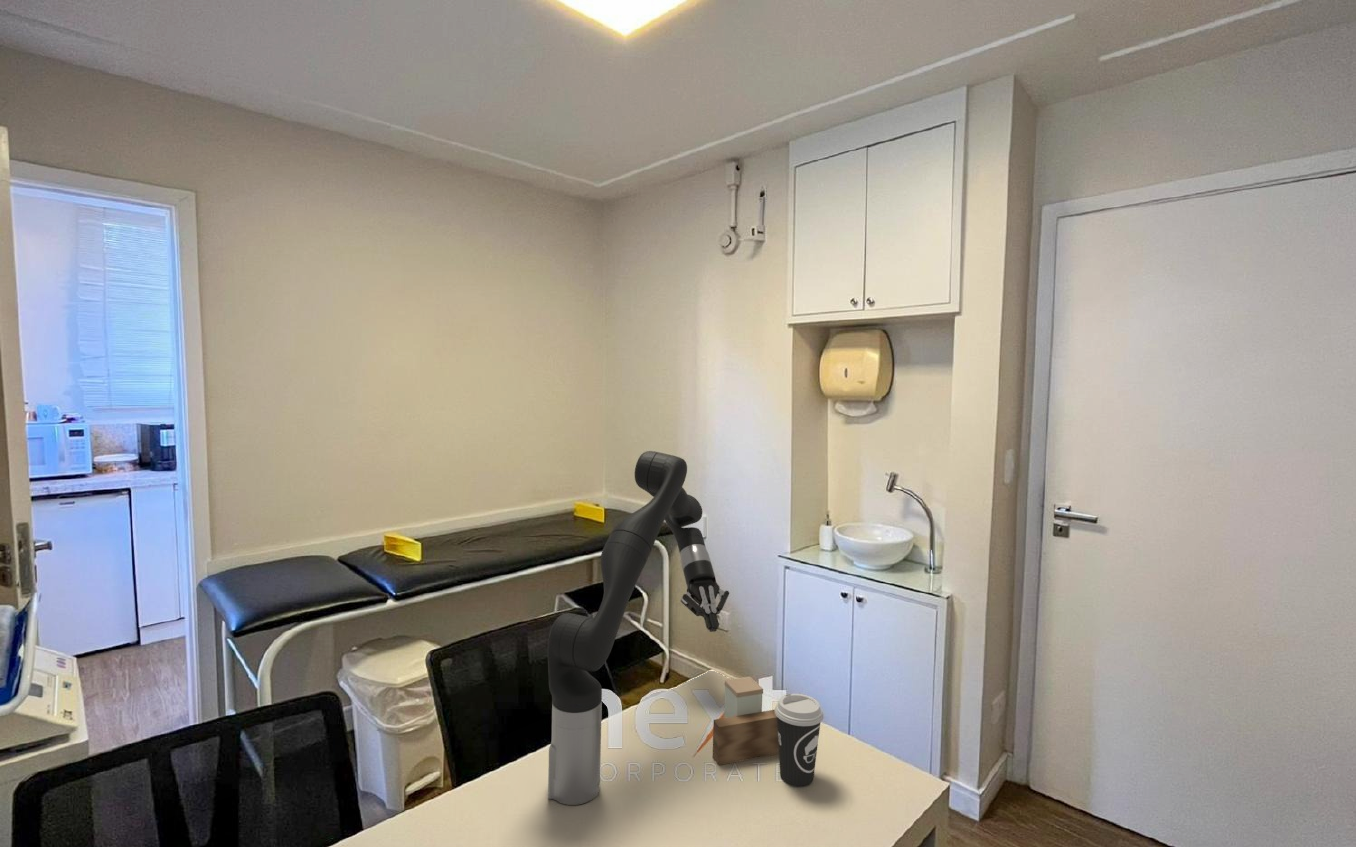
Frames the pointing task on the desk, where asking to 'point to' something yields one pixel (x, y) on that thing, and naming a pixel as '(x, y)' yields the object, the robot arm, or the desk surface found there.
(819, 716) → the coffee cup
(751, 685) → the canister
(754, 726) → the board
